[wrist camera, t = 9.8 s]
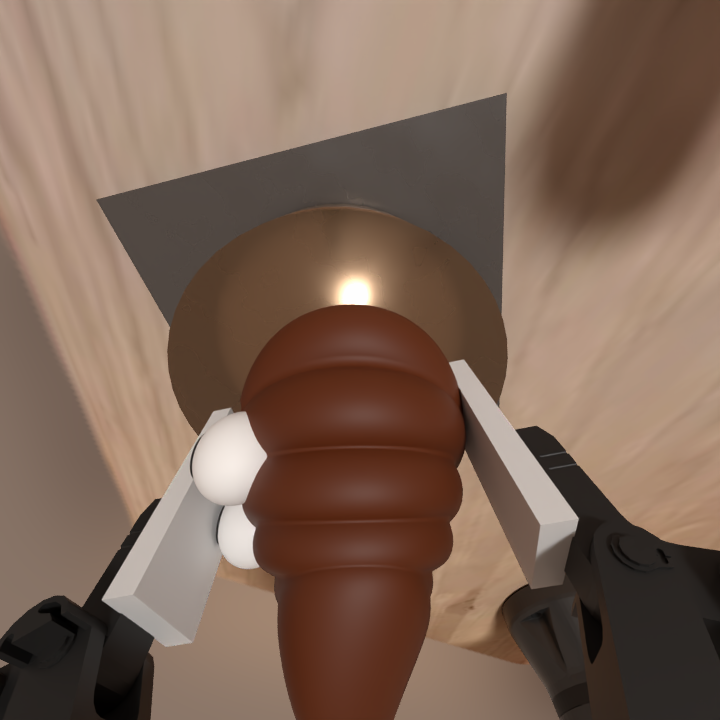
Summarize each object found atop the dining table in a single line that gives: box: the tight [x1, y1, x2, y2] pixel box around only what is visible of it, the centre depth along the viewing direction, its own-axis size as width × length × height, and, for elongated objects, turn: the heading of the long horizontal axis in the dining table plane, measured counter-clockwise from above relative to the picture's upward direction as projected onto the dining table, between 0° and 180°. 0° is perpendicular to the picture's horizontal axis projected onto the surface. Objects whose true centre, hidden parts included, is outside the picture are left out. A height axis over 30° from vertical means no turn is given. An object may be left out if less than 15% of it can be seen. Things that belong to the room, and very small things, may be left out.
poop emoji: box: [190, 304, 466, 720], centre depth 9 cm, size 10×8×9 cm
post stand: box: [97, 93, 508, 436], centre depth 17 cm, size 20×20×7 cm
